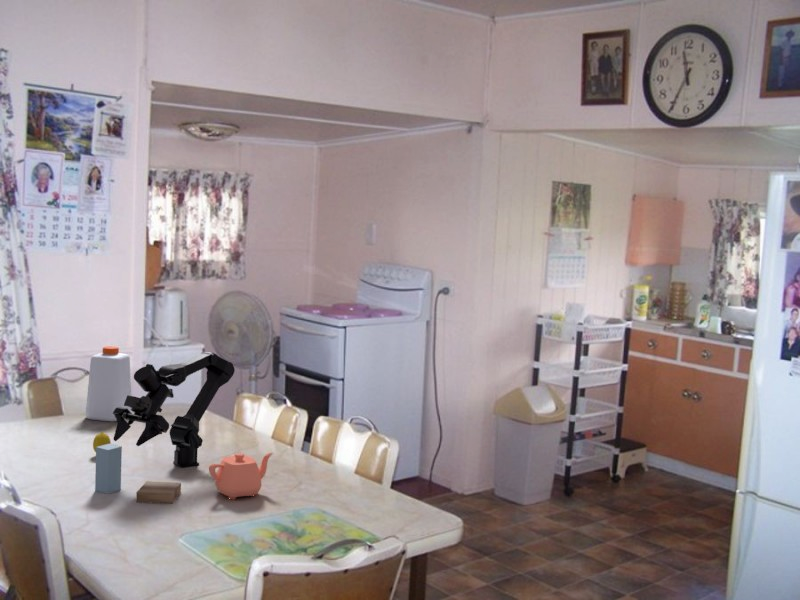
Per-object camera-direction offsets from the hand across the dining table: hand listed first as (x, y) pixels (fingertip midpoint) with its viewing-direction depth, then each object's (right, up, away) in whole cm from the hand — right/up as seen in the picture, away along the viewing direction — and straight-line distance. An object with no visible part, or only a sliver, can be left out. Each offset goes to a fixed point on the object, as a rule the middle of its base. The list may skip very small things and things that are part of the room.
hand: (125, 442), depth 246 cm
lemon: (-18, -10, +29) cm, 35 cm away
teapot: (+35, -15, -1) cm, 38 cm away
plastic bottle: (-34, -4, +82) cm, 88 cm away
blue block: (-4, -13, -5) cm, 14 cm away
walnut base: (+12, -14, -9) cm, 21 cm away
